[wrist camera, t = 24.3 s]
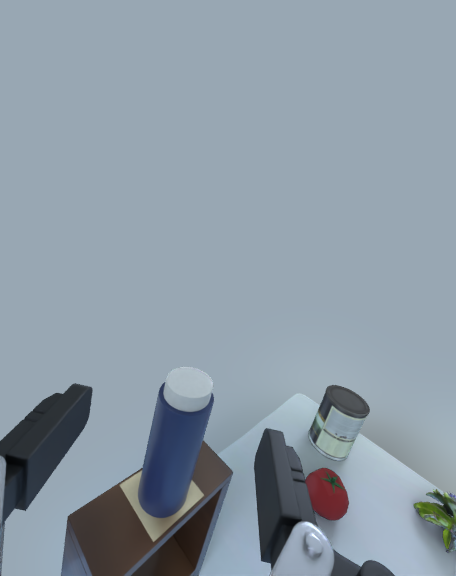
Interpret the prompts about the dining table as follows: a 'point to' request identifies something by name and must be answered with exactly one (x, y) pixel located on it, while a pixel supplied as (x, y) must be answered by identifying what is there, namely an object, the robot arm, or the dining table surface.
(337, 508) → the tomato
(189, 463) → the water bottle
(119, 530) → the shoe shelf
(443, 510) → the purple flowering plant
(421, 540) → the dining table surface
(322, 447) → the coffee can
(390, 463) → the dining table surface
